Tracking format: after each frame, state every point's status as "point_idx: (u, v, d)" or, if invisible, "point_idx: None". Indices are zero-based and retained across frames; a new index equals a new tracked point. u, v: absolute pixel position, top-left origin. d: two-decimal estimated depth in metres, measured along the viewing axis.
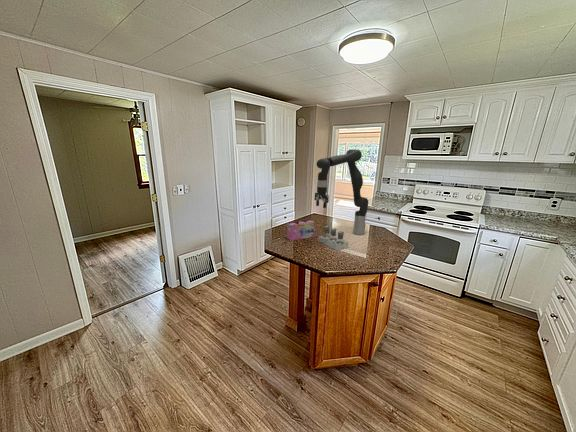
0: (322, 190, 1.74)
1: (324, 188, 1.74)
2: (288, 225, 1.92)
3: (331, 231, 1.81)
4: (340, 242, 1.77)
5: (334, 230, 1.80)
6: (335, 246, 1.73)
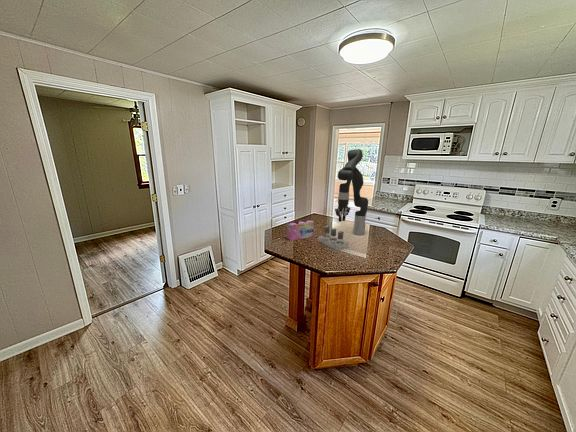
0: None
1: None
2: (288, 225, 1.92)
3: (331, 231, 1.81)
4: (340, 242, 1.77)
5: (334, 230, 1.80)
6: (335, 246, 1.73)
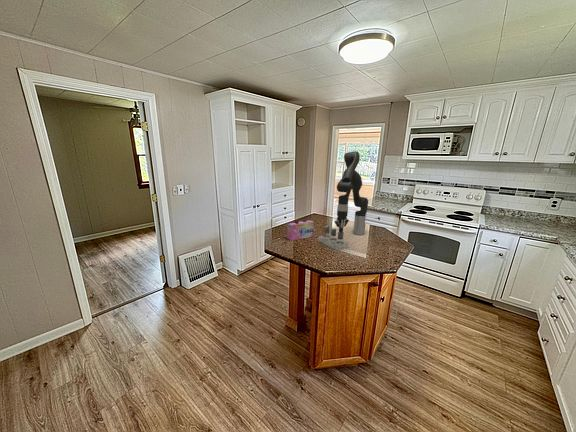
0: None
1: None
2: (288, 225, 1.92)
3: (331, 231, 1.81)
4: (340, 242, 1.77)
5: (334, 230, 1.80)
6: (335, 246, 1.73)
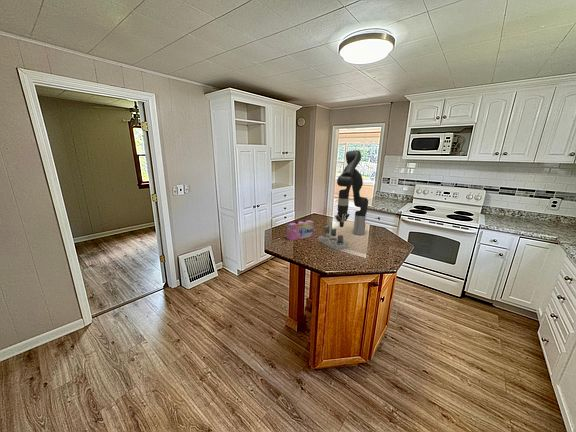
0: None
1: None
2: (288, 225, 1.92)
3: (331, 231, 1.81)
4: None
5: (334, 230, 1.80)
6: (335, 246, 1.73)
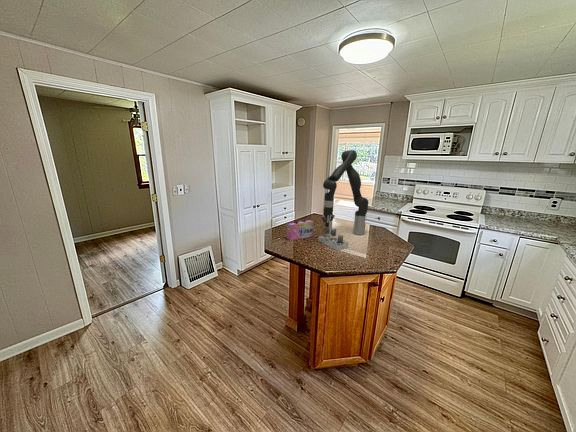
0: None
1: None
2: (287, 225, 1.92)
3: (331, 231, 1.81)
4: None
5: (334, 230, 1.80)
6: (335, 246, 1.73)
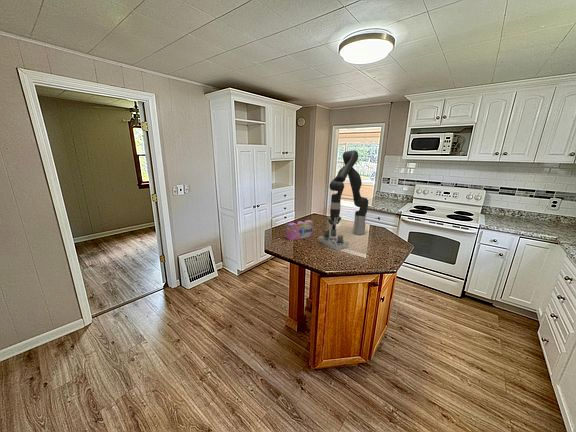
0: None
1: None
2: (287, 225, 1.92)
3: (331, 232, 1.81)
4: None
5: (334, 231, 1.80)
6: (335, 246, 1.73)
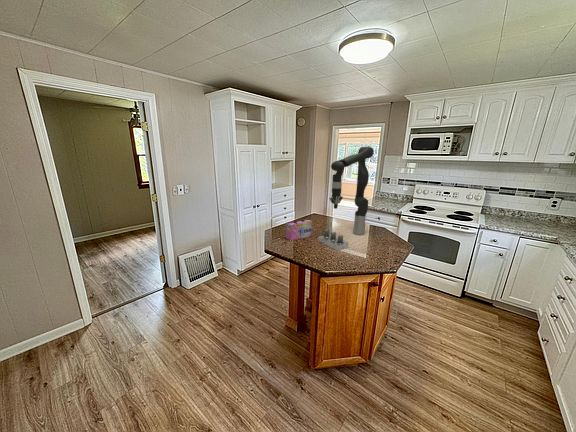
0: None
1: None
2: (287, 225, 1.92)
3: (331, 235, 1.82)
4: None
5: (334, 234, 1.80)
6: (335, 246, 1.73)
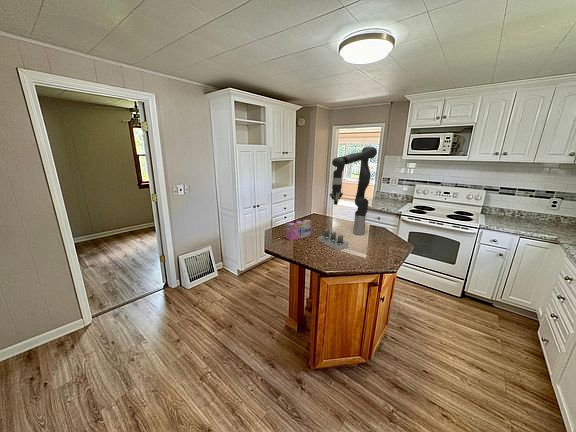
0: None
1: None
2: (287, 225, 1.92)
3: (331, 235, 1.82)
4: None
5: (334, 234, 1.80)
6: (335, 246, 1.73)
